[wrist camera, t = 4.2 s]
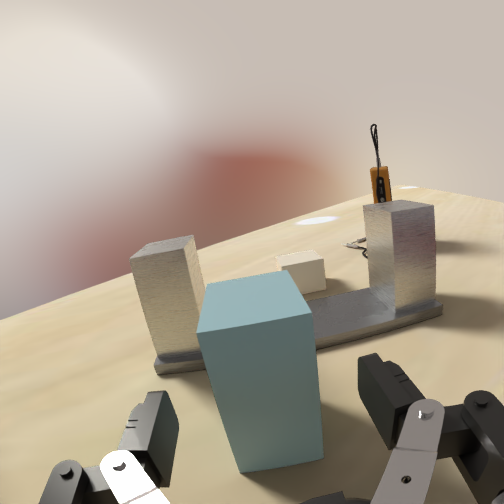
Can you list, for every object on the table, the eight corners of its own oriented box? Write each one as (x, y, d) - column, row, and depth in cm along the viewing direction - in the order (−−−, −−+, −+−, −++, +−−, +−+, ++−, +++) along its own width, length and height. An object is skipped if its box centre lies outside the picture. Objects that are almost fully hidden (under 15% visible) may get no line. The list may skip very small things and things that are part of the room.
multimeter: (344, 239, 60) (329, 135, 56) (395, 236, 56) (382, 128, 51) (329, 263, 47) (310, 128, 43) (395, 260, 43) (379, 118, 39)
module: (240, 473, 14) (196, 332, 12) (237, 404, 20) (207, 282, 18) (323, 458, 14) (311, 312, 12) (302, 392, 20) (286, 268, 18)
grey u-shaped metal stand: (157, 374, 25) (121, 262, 23) (172, 333, 33) (148, 242, 31) (442, 314, 26) (442, 206, 23) (403, 287, 33) (398, 198, 31)
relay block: (286, 298, 38) (281, 266, 37) (279, 285, 42) (275, 256, 42) (326, 290, 38) (323, 258, 37) (315, 278, 43) (312, 249, 42)
